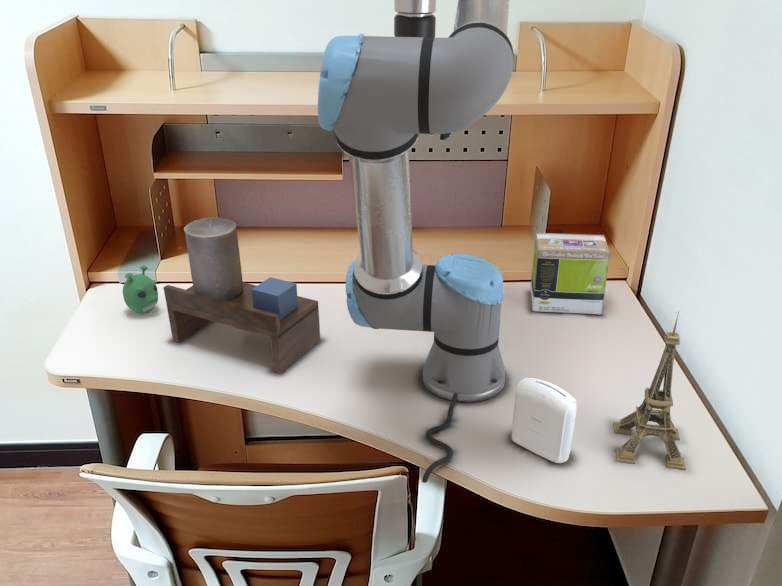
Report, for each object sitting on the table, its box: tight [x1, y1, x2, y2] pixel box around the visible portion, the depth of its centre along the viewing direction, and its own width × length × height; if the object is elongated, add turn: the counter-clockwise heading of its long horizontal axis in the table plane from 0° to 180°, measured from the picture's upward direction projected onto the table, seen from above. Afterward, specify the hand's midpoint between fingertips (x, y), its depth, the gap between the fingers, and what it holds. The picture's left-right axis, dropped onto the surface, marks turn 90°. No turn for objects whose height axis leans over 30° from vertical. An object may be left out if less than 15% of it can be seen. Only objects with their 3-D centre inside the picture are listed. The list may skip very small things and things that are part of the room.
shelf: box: [163, 281, 321, 374], centre depth 149 cm, size 26×14×12 cm, turn 63°
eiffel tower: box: [613, 310, 687, 471], centre depth 118 cm, size 11×11×25 cm
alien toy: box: [122, 264, 159, 315], centre depth 159 cm, size 7×8×10 cm
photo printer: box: [511, 377, 578, 464], centre depth 121 cm, size 10×4×12 cm, turn 47°
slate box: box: [252, 276, 298, 320], centre depth 143 cm, size 6×6×5 cm
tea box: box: [530, 232, 611, 315], centre depth 164 cm, size 15×10×15 cm
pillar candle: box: [183, 216, 244, 301], centre depth 147 cm, size 10×10×15 cm
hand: (413, 133), depth 148 cm, fingers open, 13 cm apart
